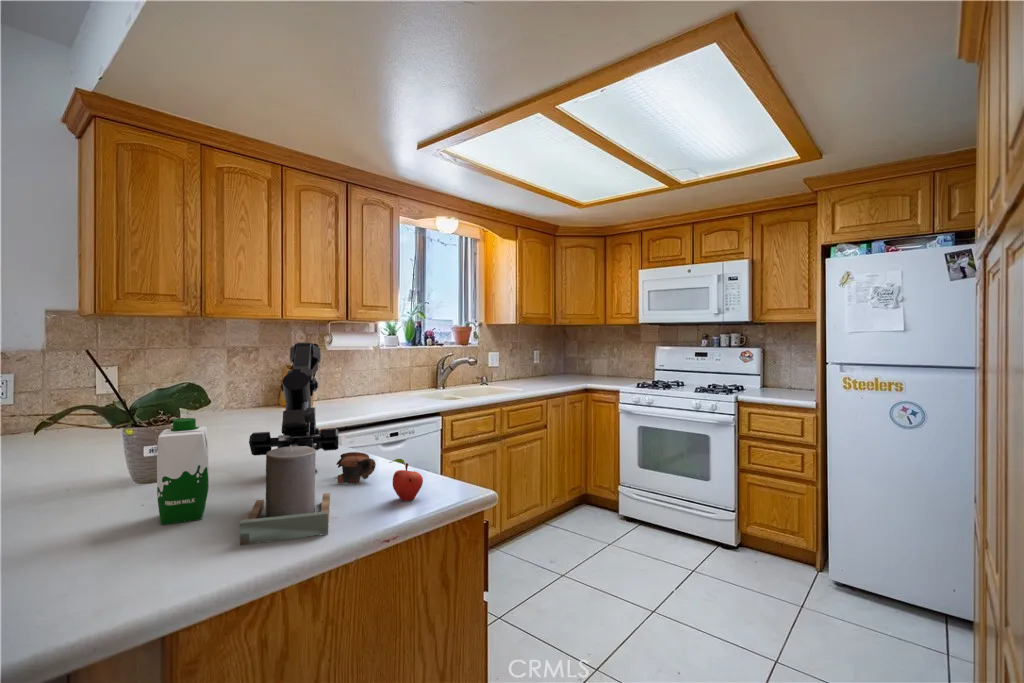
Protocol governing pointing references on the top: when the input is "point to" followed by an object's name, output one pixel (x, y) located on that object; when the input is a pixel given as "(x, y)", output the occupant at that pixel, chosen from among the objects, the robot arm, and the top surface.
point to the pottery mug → (355, 467)
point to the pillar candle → (290, 481)
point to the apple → (406, 482)
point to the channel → (283, 524)
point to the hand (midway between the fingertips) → (293, 473)
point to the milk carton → (182, 472)
